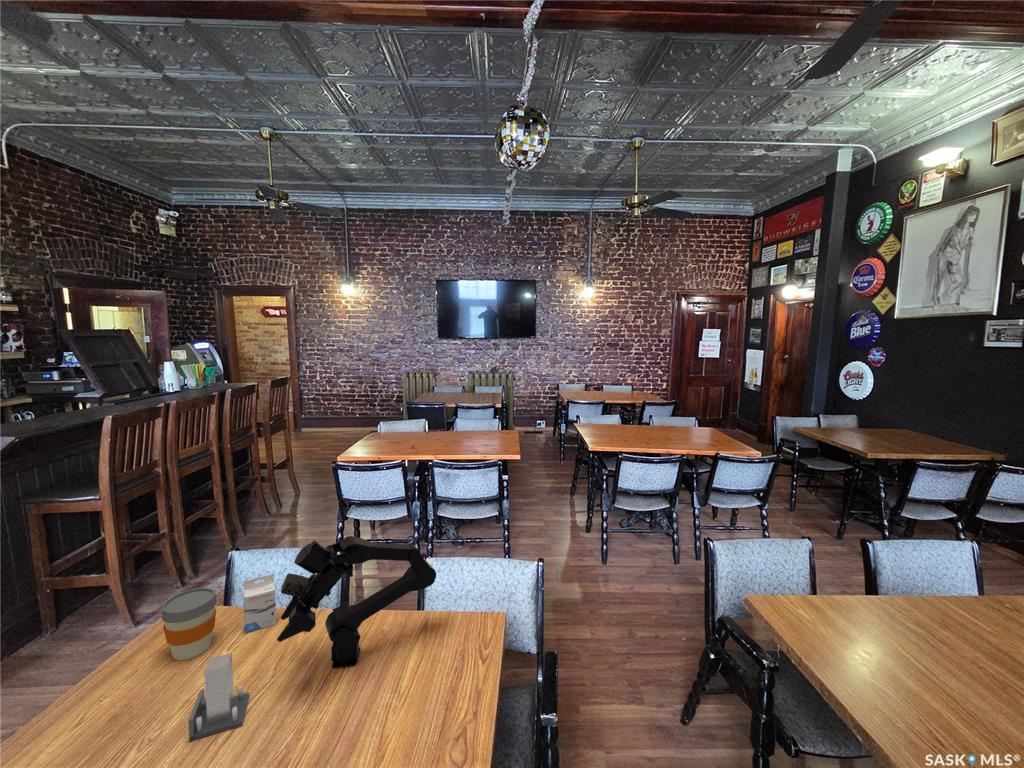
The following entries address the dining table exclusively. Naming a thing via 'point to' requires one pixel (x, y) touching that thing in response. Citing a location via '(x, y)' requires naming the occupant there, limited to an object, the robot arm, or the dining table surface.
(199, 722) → the drive dock
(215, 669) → the silver tall square block
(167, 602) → the reusable coffee cup
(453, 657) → the dining table surface
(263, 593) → the ink box
